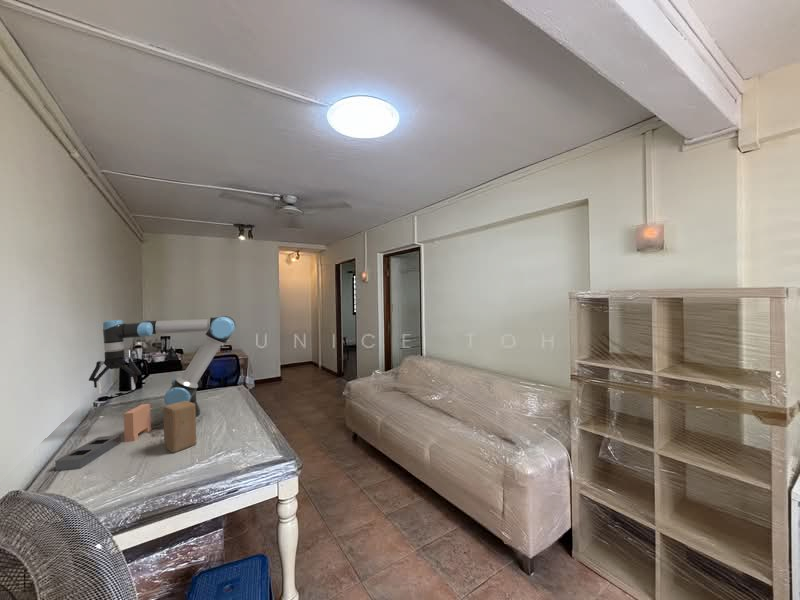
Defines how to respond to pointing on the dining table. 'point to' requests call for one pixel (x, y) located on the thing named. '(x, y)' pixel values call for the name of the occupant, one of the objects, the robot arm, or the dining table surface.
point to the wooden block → (179, 425)
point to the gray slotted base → (87, 453)
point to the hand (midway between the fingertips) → (116, 391)
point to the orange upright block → (137, 422)
